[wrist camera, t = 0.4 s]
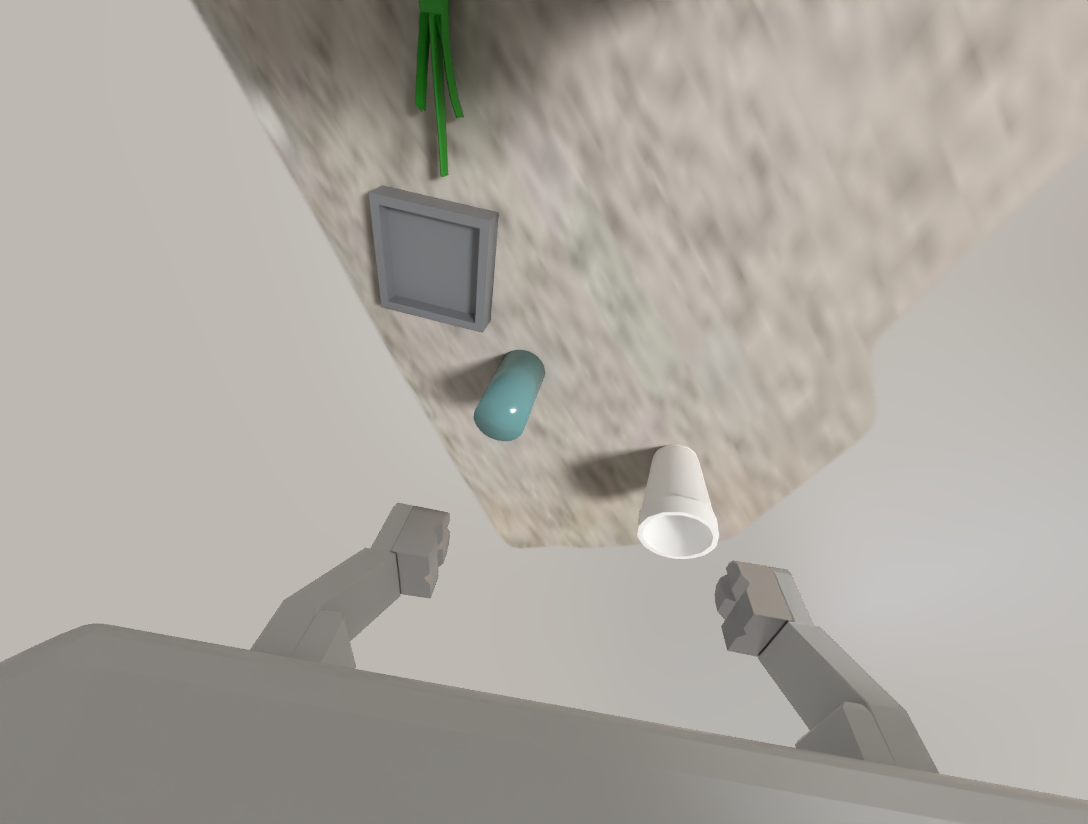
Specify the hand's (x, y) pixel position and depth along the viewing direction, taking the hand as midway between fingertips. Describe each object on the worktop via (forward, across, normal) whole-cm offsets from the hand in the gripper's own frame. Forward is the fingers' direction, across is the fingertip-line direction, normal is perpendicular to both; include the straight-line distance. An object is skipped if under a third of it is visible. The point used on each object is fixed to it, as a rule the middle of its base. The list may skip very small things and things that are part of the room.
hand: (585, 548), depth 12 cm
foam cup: (+41, -17, +28) cm, 52 cm away
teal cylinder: (+42, +6, +18) cm, 46 cm away
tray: (+41, +17, +4) cm, 45 cm away
